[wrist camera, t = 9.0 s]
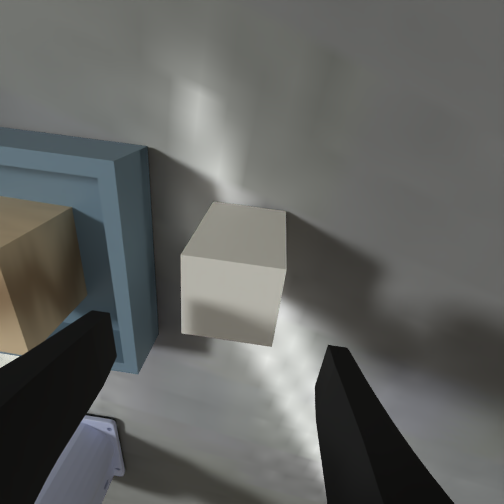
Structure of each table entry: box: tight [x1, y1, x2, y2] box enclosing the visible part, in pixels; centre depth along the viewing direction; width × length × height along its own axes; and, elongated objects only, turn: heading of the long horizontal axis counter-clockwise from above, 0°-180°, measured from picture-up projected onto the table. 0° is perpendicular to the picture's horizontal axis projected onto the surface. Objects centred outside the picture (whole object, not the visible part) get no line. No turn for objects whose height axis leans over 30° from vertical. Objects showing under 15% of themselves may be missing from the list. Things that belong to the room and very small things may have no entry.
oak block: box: [0, 196, 87, 355], centre depth 16 cm, size 6×5×5 cm
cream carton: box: [181, 201, 287, 347], centre depth 15 cm, size 4×4×6 cm
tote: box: [0, 127, 159, 374], centre depth 17 cm, size 13×13×4 cm
